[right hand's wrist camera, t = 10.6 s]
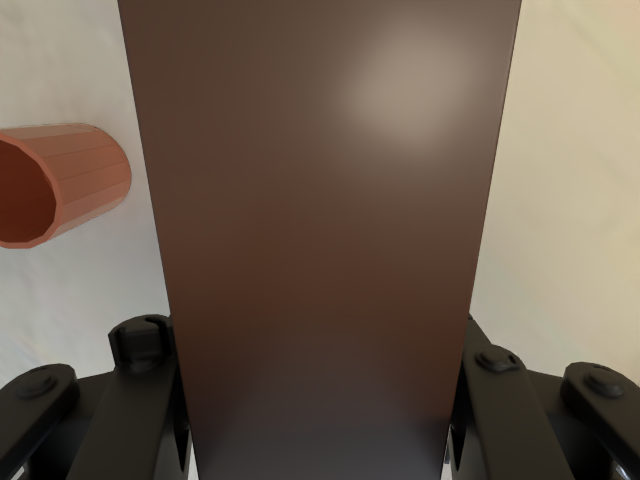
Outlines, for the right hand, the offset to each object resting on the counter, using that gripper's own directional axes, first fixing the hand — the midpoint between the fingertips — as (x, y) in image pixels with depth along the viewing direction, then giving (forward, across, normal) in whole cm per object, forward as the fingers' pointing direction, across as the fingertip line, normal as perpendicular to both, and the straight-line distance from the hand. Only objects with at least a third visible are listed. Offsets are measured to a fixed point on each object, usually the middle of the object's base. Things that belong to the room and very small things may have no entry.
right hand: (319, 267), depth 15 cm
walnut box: (+1, 0, -10) cm, 10 cm away
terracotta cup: (+15, +18, -2) cm, 23 cm away
